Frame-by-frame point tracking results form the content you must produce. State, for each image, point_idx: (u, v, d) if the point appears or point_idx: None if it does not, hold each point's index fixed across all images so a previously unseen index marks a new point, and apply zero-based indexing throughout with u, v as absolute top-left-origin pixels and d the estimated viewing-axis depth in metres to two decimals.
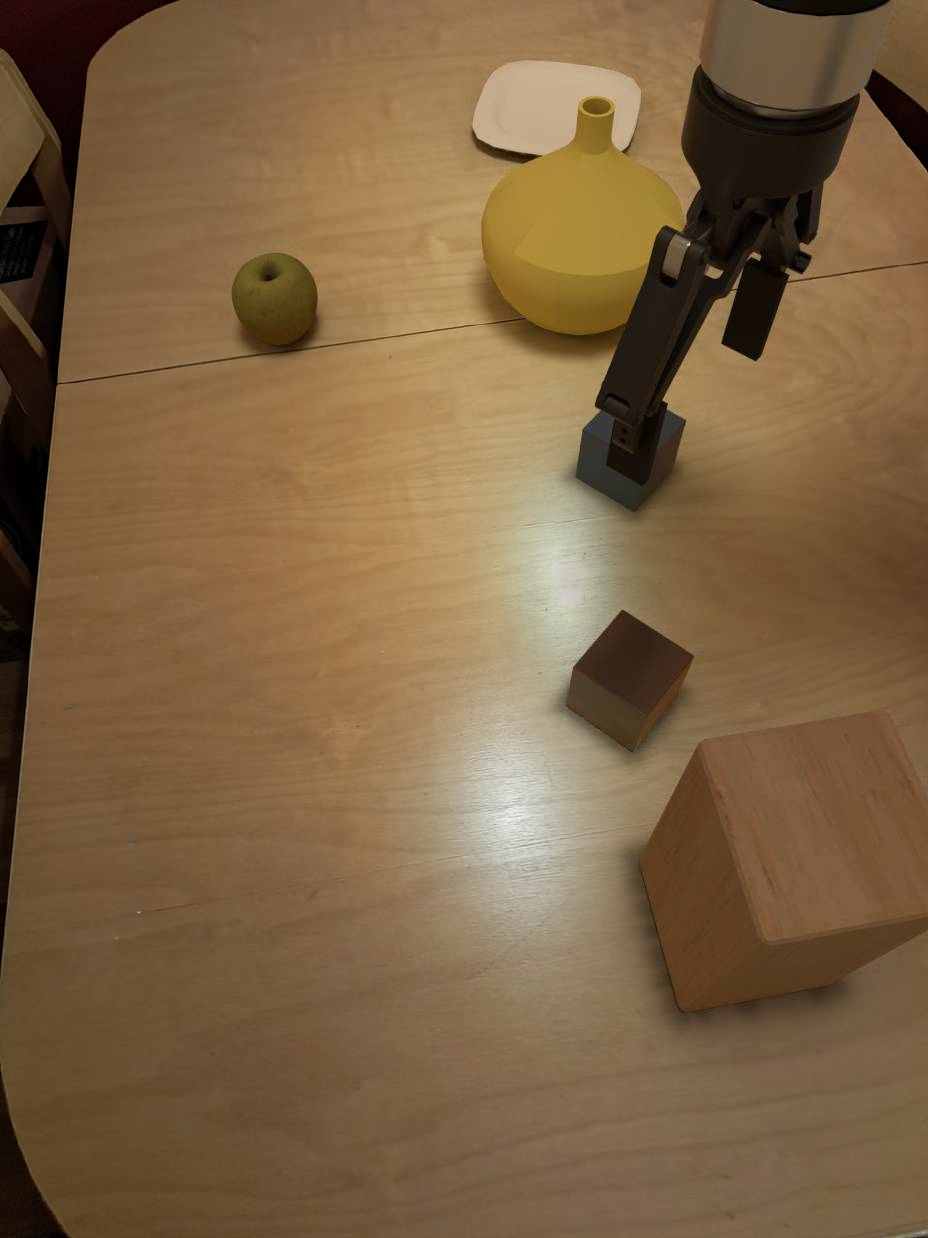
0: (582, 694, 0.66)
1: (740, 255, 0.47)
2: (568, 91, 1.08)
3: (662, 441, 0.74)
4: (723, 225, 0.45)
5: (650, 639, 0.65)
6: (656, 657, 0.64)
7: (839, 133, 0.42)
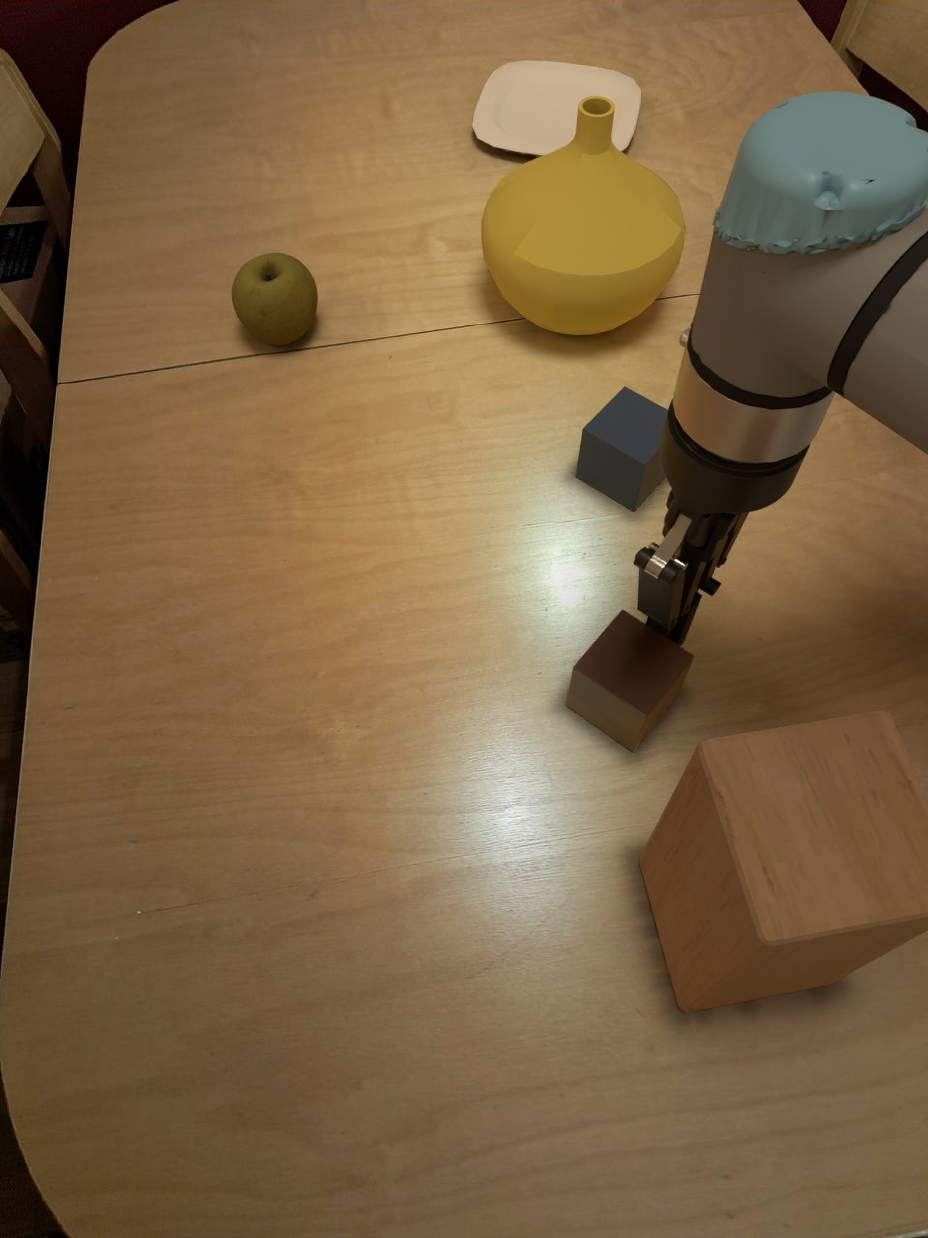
0: (582, 694, 0.66)
1: (715, 542, 0.54)
2: (568, 91, 1.08)
3: None
4: (695, 529, 0.51)
5: (650, 639, 0.65)
6: (656, 657, 0.64)
7: (793, 470, 0.48)
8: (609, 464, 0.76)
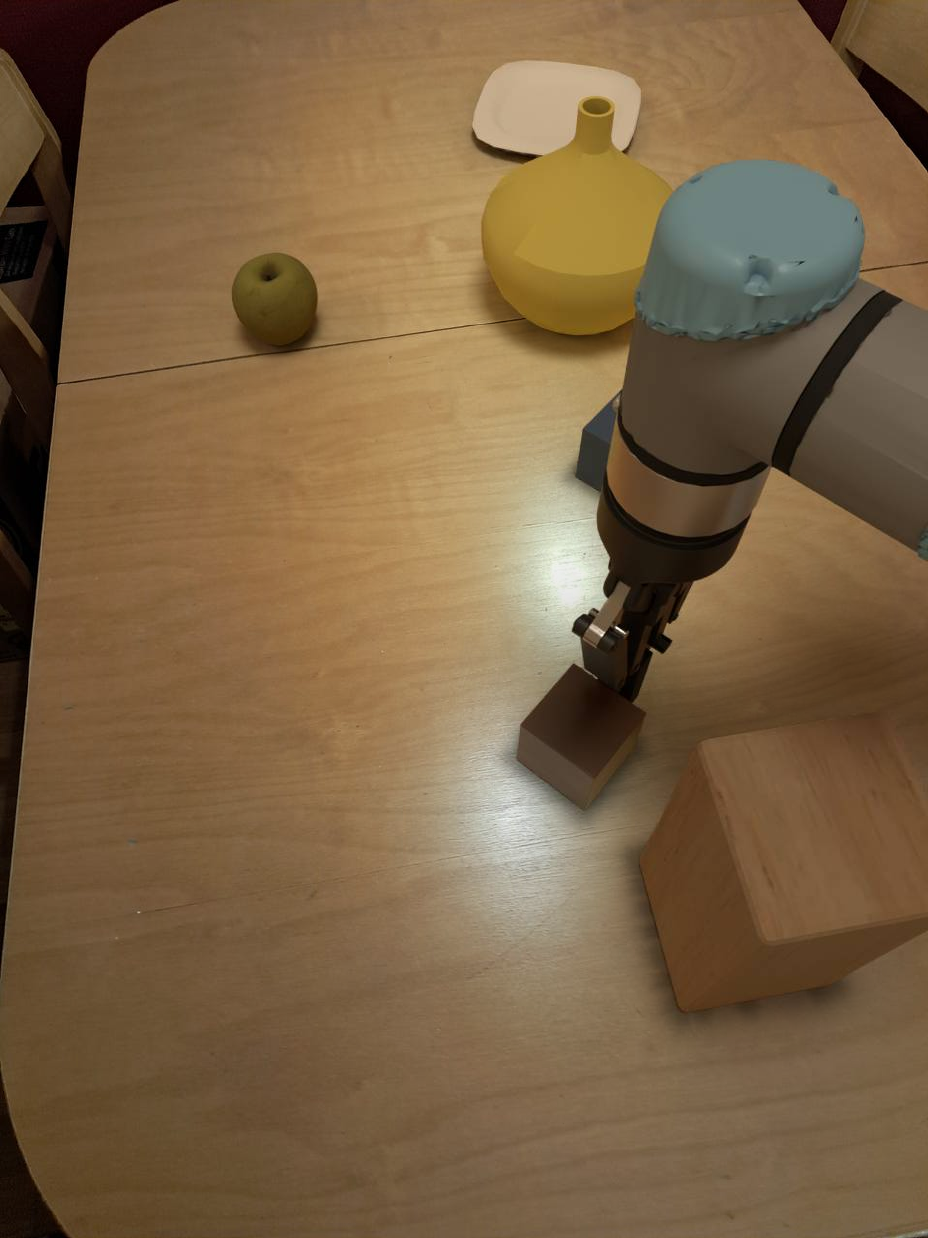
0: (531, 751, 0.64)
1: (659, 608, 0.52)
2: (568, 91, 1.08)
3: None
4: (633, 598, 0.49)
5: (601, 695, 0.63)
6: (607, 714, 0.62)
7: (733, 541, 0.46)
8: None
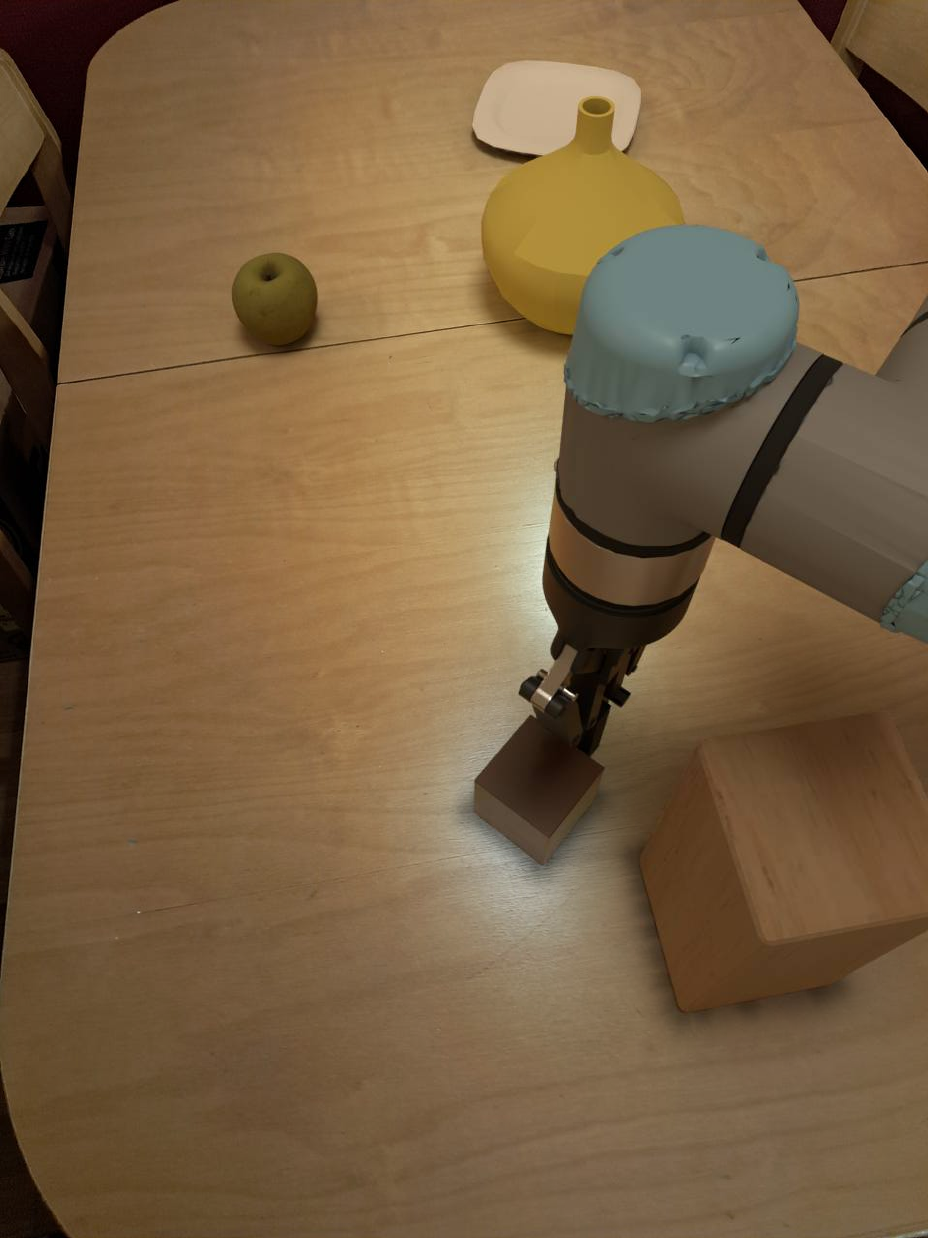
0: (487, 805, 0.62)
1: (610, 668, 0.50)
2: (568, 91, 1.08)
3: None
4: (581, 662, 0.47)
5: (558, 749, 0.61)
6: (564, 769, 0.60)
7: (680, 606, 0.44)
8: None
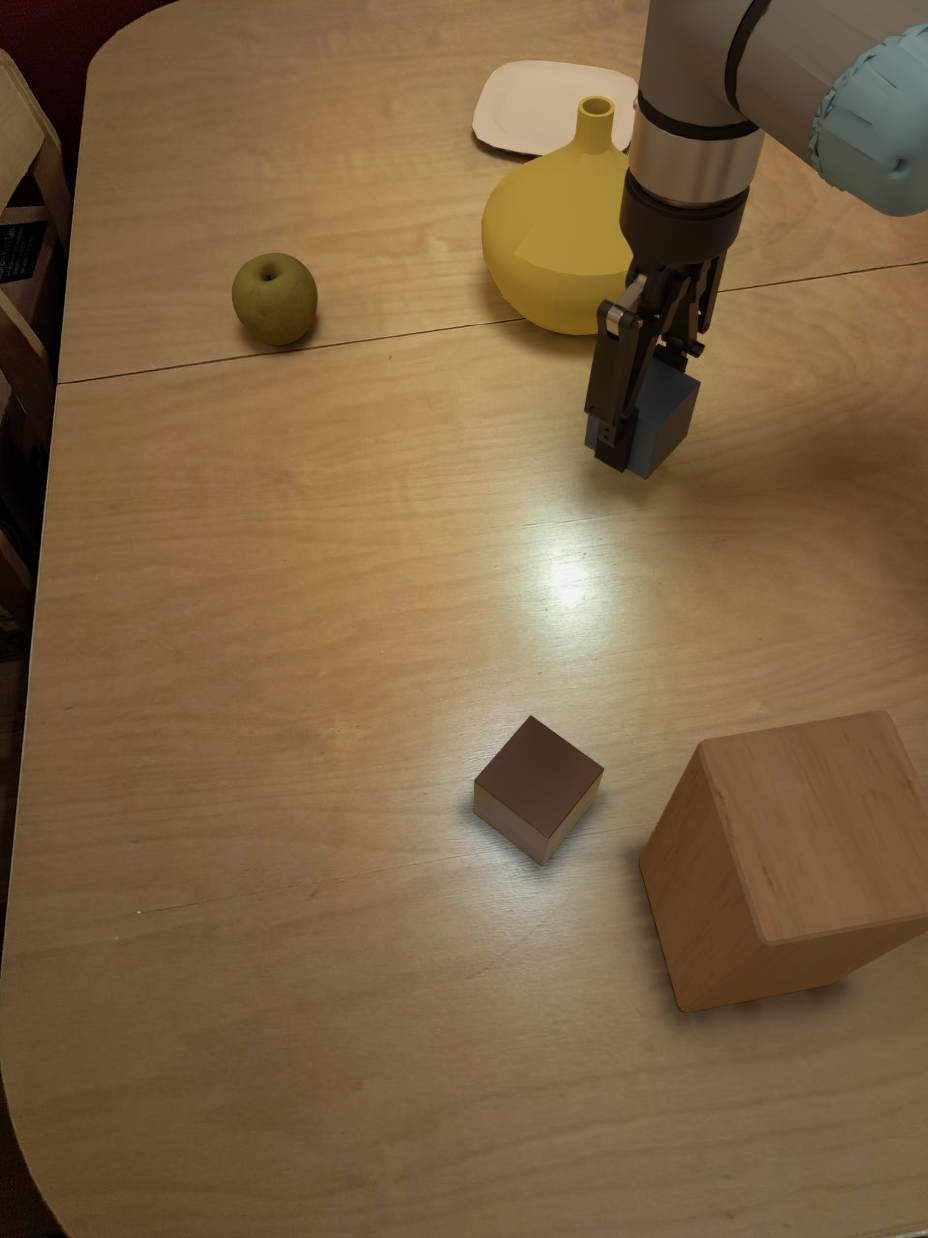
0: (487, 806, 0.62)
1: (668, 307, 0.61)
2: (568, 91, 1.08)
3: (676, 403, 0.70)
4: (651, 283, 0.59)
5: (558, 749, 0.61)
6: (563, 770, 0.60)
7: (733, 217, 0.56)
8: None
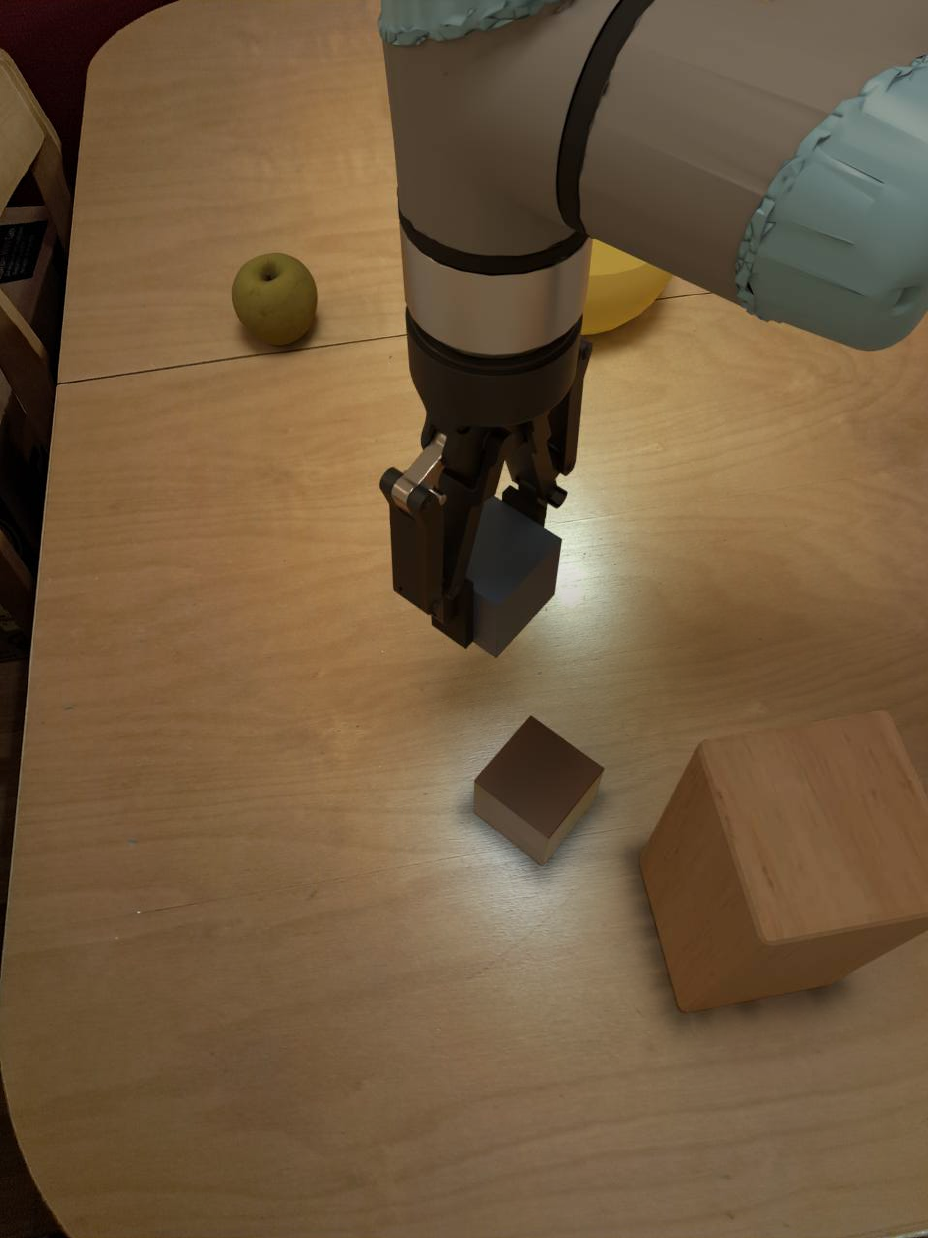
0: (487, 806, 0.62)
1: (487, 472, 0.44)
2: None
3: (526, 571, 0.53)
4: (451, 449, 0.42)
5: (558, 749, 0.61)
6: (563, 770, 0.60)
7: (554, 368, 0.39)
8: None
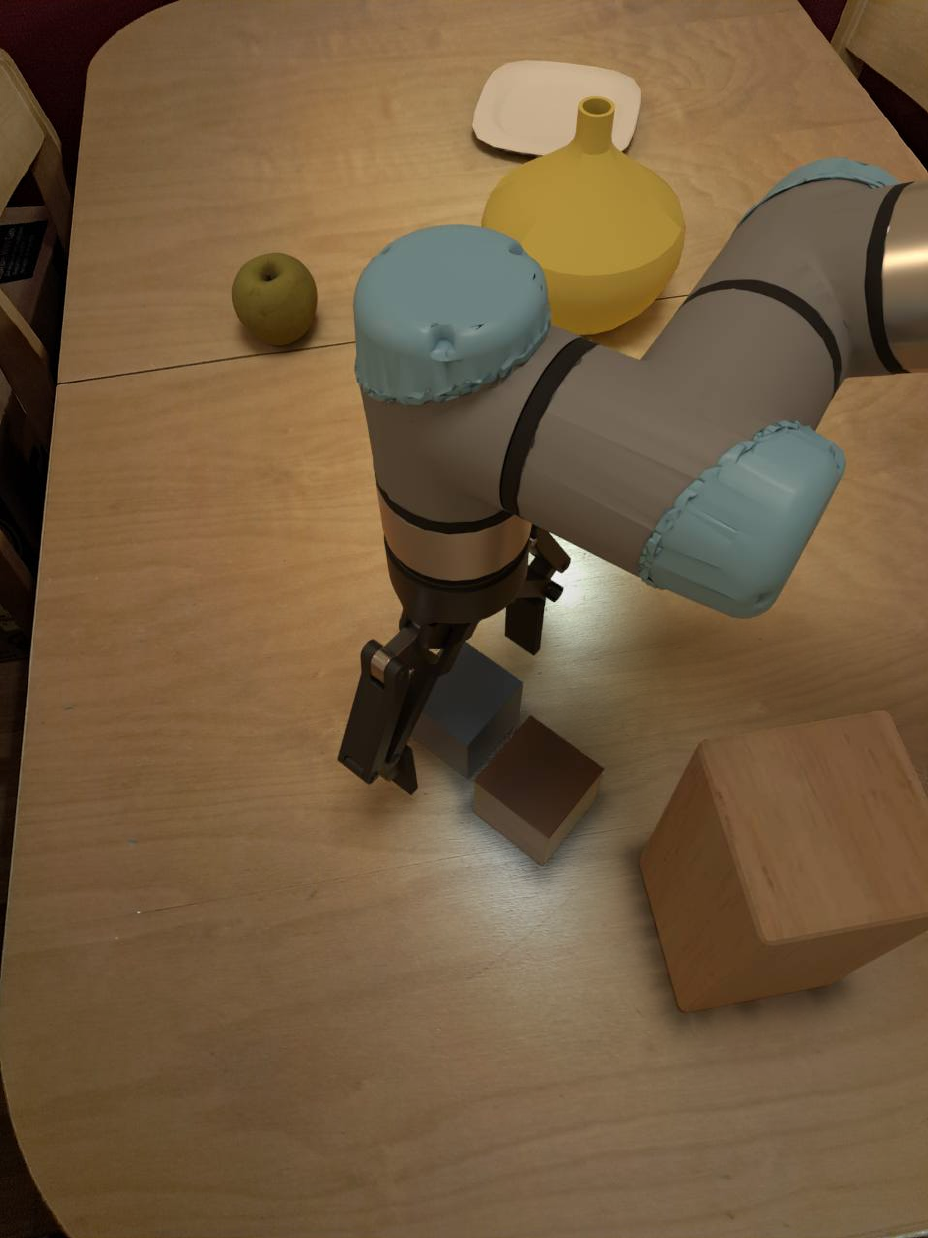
0: (487, 806, 0.62)
1: (451, 648, 0.52)
2: (568, 91, 1.08)
3: (492, 712, 0.62)
4: (424, 637, 0.50)
5: (558, 749, 0.61)
6: (563, 770, 0.60)
7: (506, 582, 0.47)
8: (433, 733, 0.64)
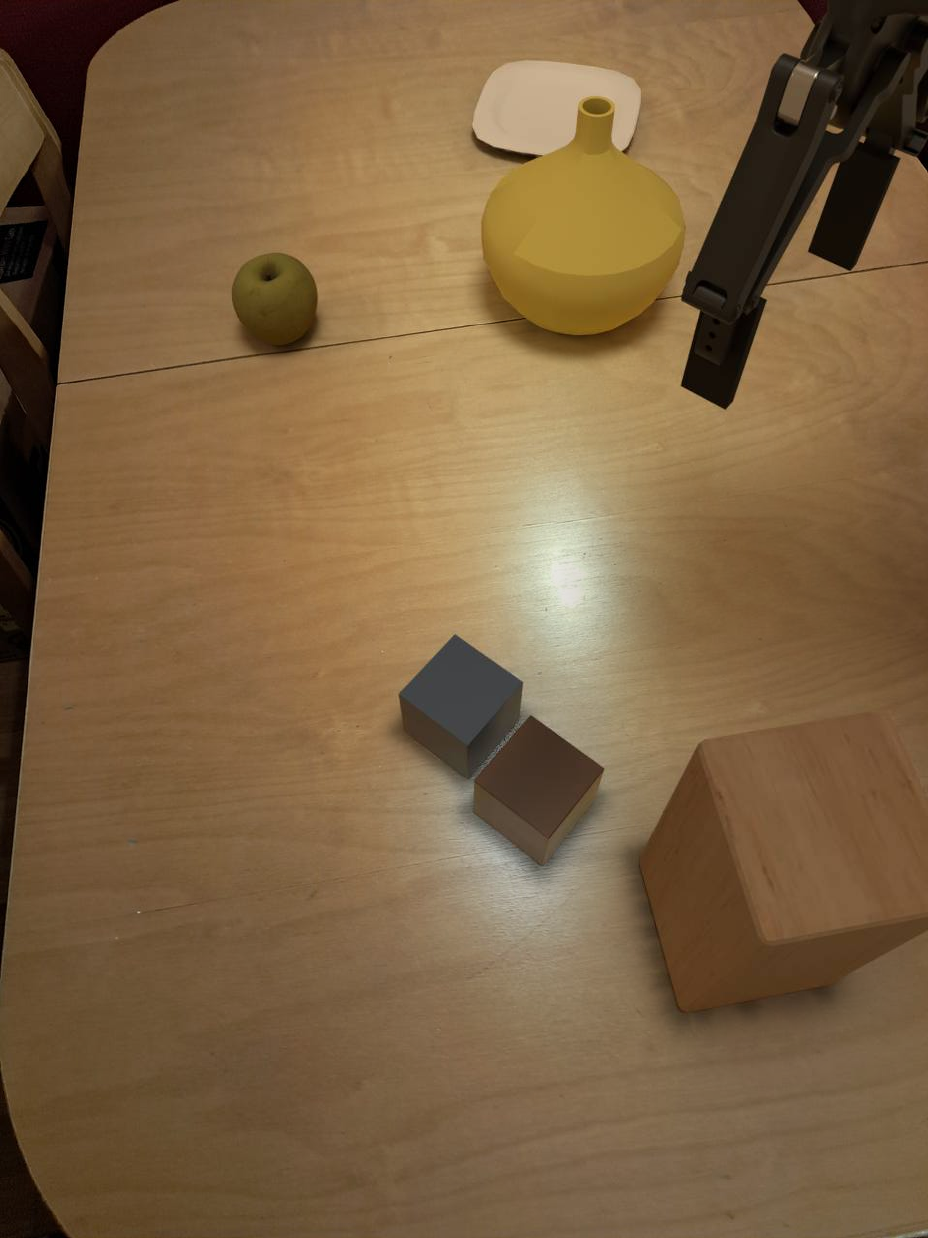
0: (487, 806, 0.62)
1: (870, 101, 0.38)
2: (568, 91, 1.08)
3: (492, 712, 0.62)
4: (856, 55, 0.36)
5: (558, 749, 0.61)
6: (563, 770, 0.60)
7: None
8: (433, 733, 0.64)
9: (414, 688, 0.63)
